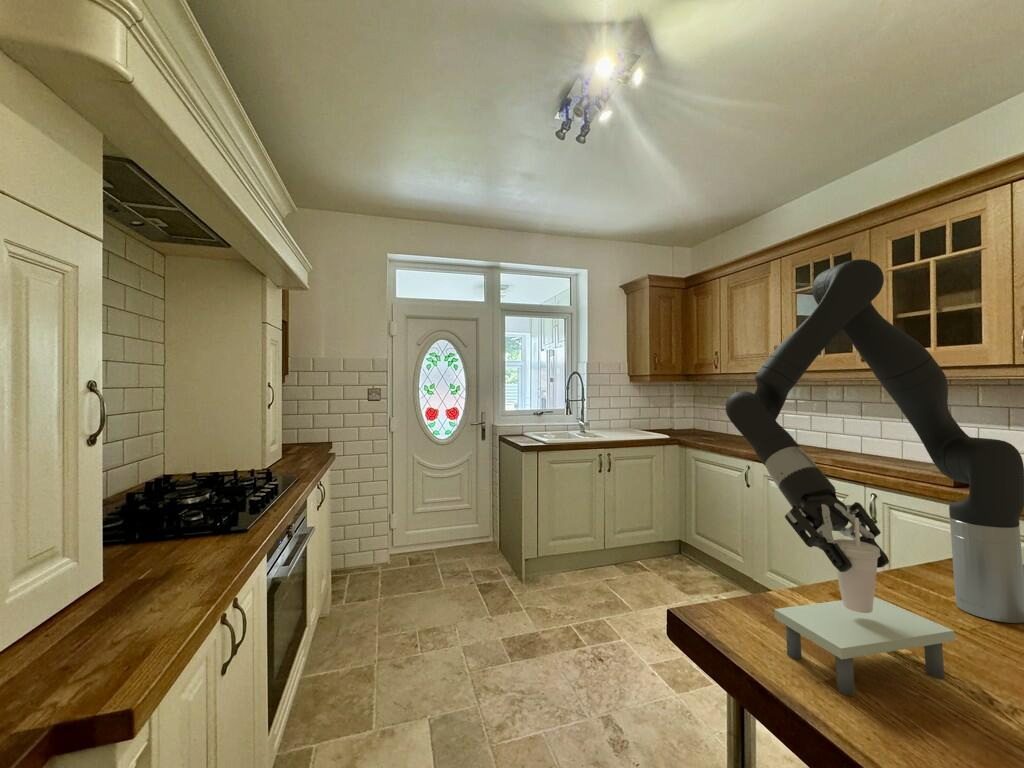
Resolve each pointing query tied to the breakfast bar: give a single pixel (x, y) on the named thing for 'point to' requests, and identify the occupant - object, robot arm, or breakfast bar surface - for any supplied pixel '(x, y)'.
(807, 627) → the small table
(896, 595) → the breakfast bar surface
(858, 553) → the smoothie
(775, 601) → the breakfast bar surface
